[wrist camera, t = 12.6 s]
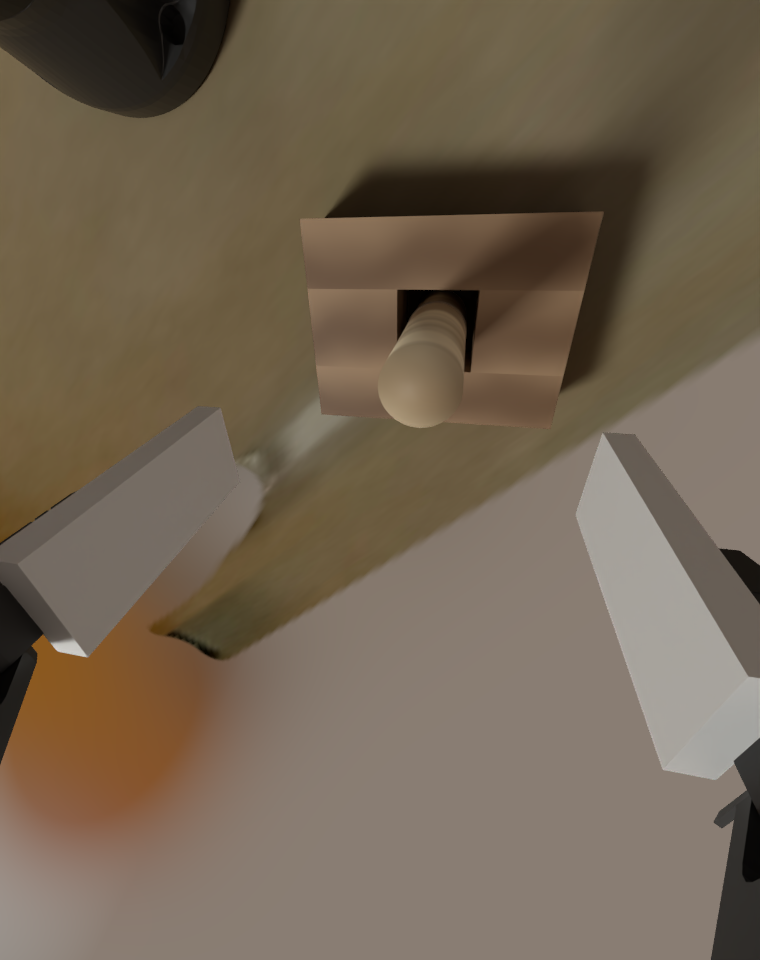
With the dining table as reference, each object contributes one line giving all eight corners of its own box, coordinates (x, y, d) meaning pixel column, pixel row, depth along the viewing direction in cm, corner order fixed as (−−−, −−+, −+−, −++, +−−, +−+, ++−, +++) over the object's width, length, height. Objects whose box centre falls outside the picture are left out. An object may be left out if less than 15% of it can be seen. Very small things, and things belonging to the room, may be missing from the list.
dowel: (415, 288, 27) (375, 342, 16) (470, 288, 27) (469, 345, 15) (414, 343, 29) (377, 426, 18) (464, 344, 29) (460, 431, 17)
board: (323, 218, 26) (299, 219, 22) (583, 211, 23) (604, 211, 20) (338, 391, 33) (321, 414, 29) (540, 402, 30) (550, 428, 26)
